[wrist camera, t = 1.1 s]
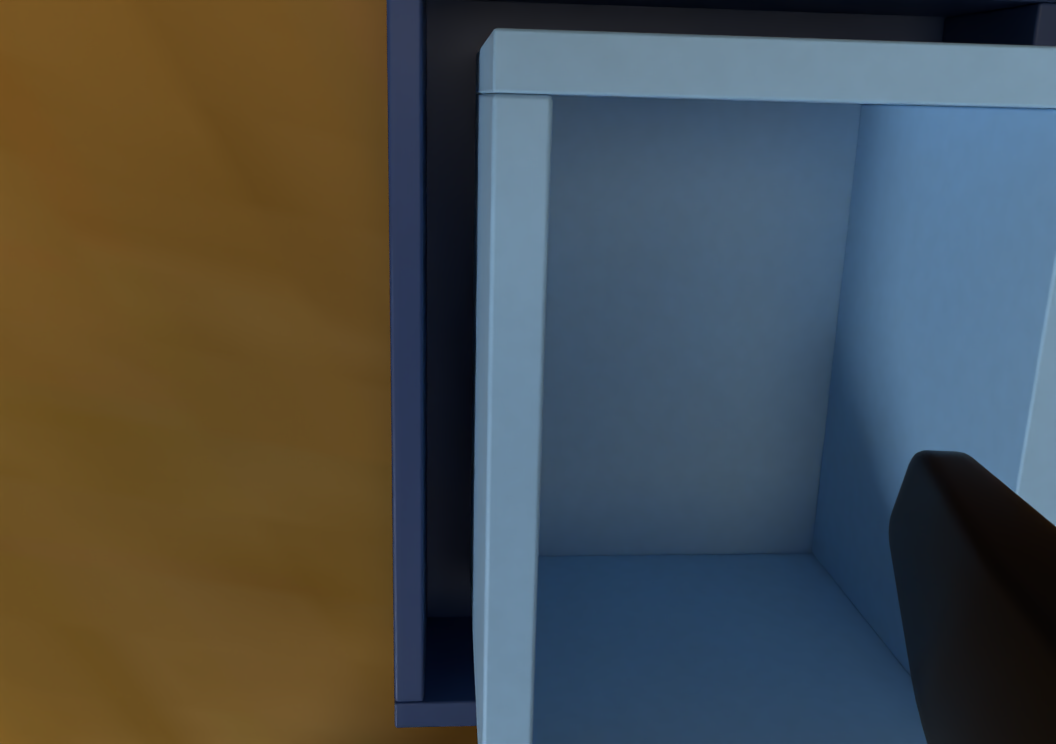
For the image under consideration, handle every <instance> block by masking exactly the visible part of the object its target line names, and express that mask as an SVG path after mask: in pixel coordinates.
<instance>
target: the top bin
mask: <svg viewBox="0 0 1056 744" xmlns="http://www.w3.org/2000/svg"><path fill="white" fill-rule="evenodd" d="M923 450H935V451H958V452H963V453H966V454H968V455H969V456H971V457H972V458H974V459H975V460H976V461H977V462H979V463H980V464H981V465H982V466H983V467H985V468H986V469H987V470H988V471H990V472H991V473H992V474H993V475H994V476H996V477H997V478H998V479H999V480H1000V481H1002V482H1003V483H1004V484H1005V485H1006V486H1008V487H1009V488H1010V489H1011V490H1012V491H1014V492H1015V493H1016V494H1017V495H1018V496H1020V497H1021V498H1022V499H1023V500H1024V501H1026V502H1027V503H1028V504H1029V505H1030V506H1032V507H1033V508H1034V509H1035V510H1037V511H1038V512H1039V513H1040V514H1041V515H1043V516H1044V517H1045V518H1046V519H1047V520H1049V521H1050V522H1051V523H1052V524H1053V525H1055V526H1056V46H1035V45H1004V44H974V43H943V42H912V41H882V40H851V39H820V38H790V37H759V36H729V35H698V34H667V33H637V32H606V31H575V30H545V29H514V28H496V29H494V30H493V32H492V33H491V34H490V36H489V37H488V39H487V40H486V41H485V43H484V44H483V46H482V47H481V48H480V50H479V51H478V53H477V55H476V98H475V184H474V271H473V357H472V444H471V530H470V588H471V609H472V631H473V652H474V674H475V695H476V717H477V738H478V744H927V741H926V738H925V734H924V731H923V727H922V724H921V720H920V716H919V712H918V708H917V704H916V700H915V695H914V690H913V685H912V679H911V674H910V668H909V662H908V656H907V650H906V643H905V637H904V631H903V625H902V619H901V613H900V607H899V601H898V594H897V588H896V582H895V576H894V570H893V564H892V558H891V552H890V546H889V521H890V516H891V513H892V510H893V507H894V504H895V502H896V499H897V496H898V493H899V490H900V487H901V485H902V482H903V479H904V476H905V473H906V470H907V468H908V465H909V463H910V460H911V459H912V457H913V456H914V455H915V454H916V453H917V452H920V451H923Z"/></svg>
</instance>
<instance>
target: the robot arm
mask: <svg viewBox="0 0 1056 744" xmlns="http://www.w3.org/2000/svg"><path fill="white" fill-rule="evenodd" d="M889 546H890V552H891V558H892V564H893V570H894V576H895V582H896V588H897V594H898V601H899V607H900V613H901V619H902V625H903V631H904V637H905V643H906V650H907V656H908V662H909V668H910V674H911V679H912V685H913V690H914V695H915V700H916V704H917V708H918V712H919V716H920V720H921V724H922V727H923V731H924V734H925V738H926V741H927V744H1056V526H1055V525H1053V524H1052V523H1051V522H1050V521H1049V520H1047V519H1046V518H1045V517H1044V516H1043V515H1041V514H1040V513H1039V512H1038V511H1037V510H1035V509H1034V508H1033V507H1032V506H1030V505H1029V504H1028V503H1027V502H1026V501H1024V500H1023V499H1022V498H1021V497H1020V496H1018V495H1017V494H1016V493H1015V492H1014V491H1012V490H1011V489H1010V488H1009V487H1008V486H1006V485H1005V484H1004V483H1003V482H1002V481H1000V480H999V479H998V478H997V477H996V476H994V475H993V474H992V473H991V472H990V471H988V470H987V469H986V468H985V467H983V466H982V465H981V464H980V463H979V462H977V461H976V460H975V459H974V458H972V457H971V456H969V455H968V454H966V453H963V452H958V451H935V450H923V451H920V452H917V453H916V454H915V455H914V456H913V457H912V459H911V460H910V463H909V465H908V468H907V470H906V473H905V476H904V479H903V482H902V485H901V487H900V490H899V493H898V496H897V499H896V502H895V504H894V507H893V510H892V513H891V516H890V521H889Z"/></svg>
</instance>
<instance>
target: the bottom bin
mask: <svg viewBox="0 0 1056 744" xmlns="http://www.w3.org/2000/svg"><path fill="white" fill-rule="evenodd" d="M496 28H514V29H545V30H575V31H606V32H637V33H667V34H698V35H729V36H759V37H790V38H820V39H851V40H882V41H912V42H943V43H974V44H1004V45H1035V46H1056V0H387V68H388V159H389V249H390V339H391V429H392V519H393V610H394V698H395V726H396V727H397V728H403V727H444V726H477V717H476V695H475V674H474V652H473V631H472V609H471V588H470V530H471V444H472V357H473V271H474V184H475V98H476V55H477V53H478V51H479V50H480V48H481V47H482V46H483V44H484V43H485V41H486V40H487V39H488V37H489V36H490V34H491V33H492V32H493V30H494V29H496Z"/></svg>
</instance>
